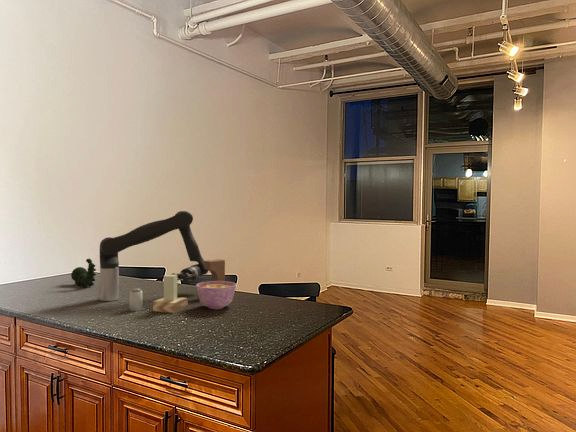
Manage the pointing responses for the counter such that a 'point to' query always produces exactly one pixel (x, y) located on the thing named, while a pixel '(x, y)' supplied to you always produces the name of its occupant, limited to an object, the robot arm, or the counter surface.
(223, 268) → the decorative block
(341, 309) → the counter surface
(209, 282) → the bowl of food
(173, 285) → the sage block
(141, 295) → the ceramic jar
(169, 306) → the maple block
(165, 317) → the counter surface
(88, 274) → the toy figurine
